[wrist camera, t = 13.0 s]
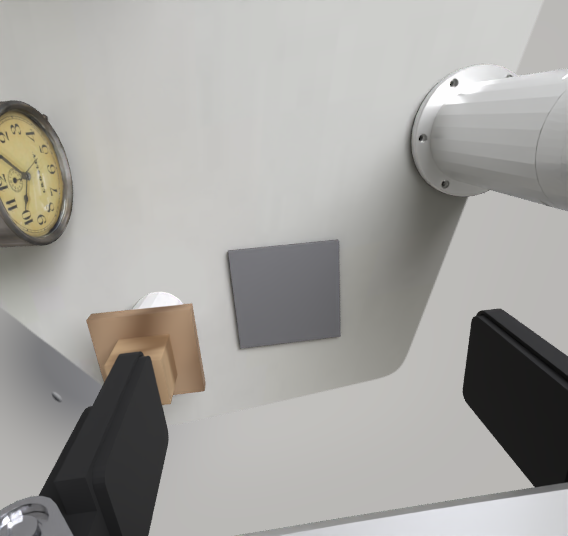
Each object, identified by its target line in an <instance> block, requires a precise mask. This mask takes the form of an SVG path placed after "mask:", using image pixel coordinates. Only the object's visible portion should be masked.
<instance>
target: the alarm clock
mask: <svg viewBox="0 0 568 536" xmlns="http://www.w3.org/2000/svg"><path fill="white" fill-rule="evenodd" d="M47 120H48V118H47V116H46V115H44V114H41V113H40V112H39V111H37V110H36V109H35V108H33V107H32V106H30V105H28V104H26V103H24V102H21V101H5V102H0V247H14V246H34V245H48V244H50V243H52V242H54V241H56V240H57V239H58V238H59V237H60V236H61V235H62V233H63V232H64V230H65V229H66V227H67V224H68V222H69V219H70V215H71V211H72V202H73V186H72V177H71V172H70V168H69V164H68V160H67V157H66V154H65V151H64V148H63V146H62V144H61V142H60V140H59V138H58V136H57V134H56V133H55V131H54V129H53V128H52V126H51V125H50V123H49V122H48V121H47Z"/></svg>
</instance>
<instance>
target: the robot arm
mask: <svg viewBox="0 0 568 536" xmlns="http://www.w3.org/2000/svg"><path fill="white" fill-rule="evenodd" d="M450 82H451V86H450ZM419 136H421V139H420V140H419ZM411 144H412V154H413V158H414V162H415V165H416V167H417V169H418V171H419V173H420V175H421V176H422V177H423V178H424V180H425V181H426V182H427V183H428V184H429V185H431V186H432V187H433V188H435V189H437V190H439V191H441V192H443V193H446V194H449V195H452V196H460V197H466V196H475V195H478V194H482V193H485V192H487V191H489V190H493V191H496V192H500V193H504V194H507V195H510V196H514V197H518V198H521V199H525V200H529V201H532V202H536V203H539V204H543V205H546V206H550V207H554V208H558V209H561V210H565V211H568V68H565V69H559V70H553V71H546V72H540V73H534V74H528V75H522V76H518V75H517V74H516V73H514V72H512V71H511V70H509V69H507V68H506V67H502V66H499V65H496V64H478V65H472V66H468V67H465V68H462V69H459V70H457V71H455V72H453V73H451V74H449V75H448V76H447V77H445V78H444V79H443V80H441V81H440V82H439V83H438V84H437V85H436V86H435V87H434V88H433V89H432V90H431V91H430V92H429V94H428V95H427V97H426V98H425V100H424V101H423V103H422V104H421V106H420V109H419V111H418V113H417V115H416V118H415V122H414V126H413V129H412V140H411ZM442 182H443V184H442ZM441 184H442V185H441ZM463 396H464V399H465V401H466V403H467V404H468V405H469V406H470V408H471V409H472V410H473V411H474V413H475V414H476V415H477V416H478V418H479V419H480V420H481V421H482V422H483V424H484V425H485V426H486V427H487V429H488V430H489V431H490V432H491V434H492V435H493V436H494V437H495V439H496V440H497V441H498V442H499V444H500V445H501V446H502V447H503V448H504V450H505V451H506V452H507V453H508V455H509V456H510V457H511V458H512V460H513V461H514V462H515V463H516V465H517V466H518V467H519V468H520V469H521V471H522V472H523V473H524V474H525V476H526V477H527V478H528V479H529V480H530V482H531V483H532V484H533V486H535V488H529V489H522V490H516V491H509V492H502V493H496V494H489V495H483V496H476V497H470V498H463V499H457V500H451V501H445V502H438V503H432V504H425V505H419V506H413V507H407V508H401V509H395V510H388V511H383V512H376V513H370V514H364V515H357V516H351V517H345V518H338V519H333V520H326V521H320V522H315V523H308V524H303V525H296V526H290V527H284V528H278V529H272V530H266V531H260V532H255V533H248V534H242V535H236V536H568V356H566V355H565V354H564V353H562V352H561V351H559V350H558V349H557V348H555V347H554V346H553V345H551V344H550V343H548V342H547V341H545V340H544V339H543V338H541V337H540V336H539V335H537V334H536V333H534V332H533V331H532V330H530V329H529V328H527V327H526V326H525V325H523V324H522V323H520V322H519V321H518V320H516V319H515V318H513V317H512V316H511V315H509V314H508V313H506V312H505V311H504V310H502V309H492V310H484V311H480V312H478V313H477V315H476V316H475V317H473V319H472V322H471V330H470V337H469V345H468V353H467V360H466V369H465V376H464V384H463ZM167 446H168V429H167V425H166V420H165V416H164V412H163V407H162V403H161V399H160V395H159V390H158V386H157V382H156V378H155V373H154V369H153V365H152V361H151V358H150V356H144V354H143V353H142V352H141V351H139V352H131V353H122V354H119V355H118V357H117V359H116V361H115V363H114V365H113V367H112V369H111V371H110V372H109V374H108V376H107V378H106V380H105V382H104V384H103V386H102V389H101V390H100V392H99V394H98V396H97V398H96V400H95V402H94V404H93V406H91V407H88V408H86V409H85V410H84V412H83V413H82V415H81V417H80V419H79V421H78V422H77V424H76V427H75V428H74V430H73V432H72V434H71V436H70V438H69V440H68V442H67V443H66V445H65V447H64V449H63V451H62V453H61V455H60V457H59V459H58V460H57V462H56V464H55V466H54V468H53V470H52V472H51V473H50V475H49V477H48V479H47V481H46V483H45V485H44V487H43V489H42V490H41V492H40V494H39V496H34V497H28V498H25V499H22V500H19V501H16V502H14V503H13V504H10V505H9V506H7V507H5V508H3V509H2V510H0V536H148V534H149V530H150V525H151V520H152V515H153V511H154V506H155V502H156V497H157V492H158V488H159V483H160V479H161V474H162V469H163V464H164V460H165V455H166V450H167Z"/></svg>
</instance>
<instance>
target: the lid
mask: <svg viewBox="0 0 568 536" xmlns="http://www.w3.org/2000/svg"><path fill="white" fill-rule="evenodd" d="M86 321H87V324H88V328H89V331H90V335H91V338H92V342H93V345H94V349H95V352H96V356H97V359H98V363H99V366H100V370H101V373H102V377H103V380H104V382H105V380H106V378H107V376H108V374H109V372H110V371H111V369H112V367H113V365H114V363H115V361H116V359H117V357H118V355H119V354H122V353H131V352H139V351H141V352H142V353H143V354H144V356H150V358H151V361H152V365H153V369H154V373H155V378H156V382H157V386H158V390H159V395H160V399H161V403H162V405H165V404H171V400H172V396H173V395H177V394H185V393H193V392H201V391H205V377H204V371H203V365H202V359H201V353H200V347H199V341H198V335H197V329H196V323H195V317H194V312H193V306H192V304H182V305H173V306H163V307H154V308H144V309H134V310H125V311H115V312H106V313H96V314H91V315H90V316H89V318H88V319H87V320H86Z"/></svg>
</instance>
